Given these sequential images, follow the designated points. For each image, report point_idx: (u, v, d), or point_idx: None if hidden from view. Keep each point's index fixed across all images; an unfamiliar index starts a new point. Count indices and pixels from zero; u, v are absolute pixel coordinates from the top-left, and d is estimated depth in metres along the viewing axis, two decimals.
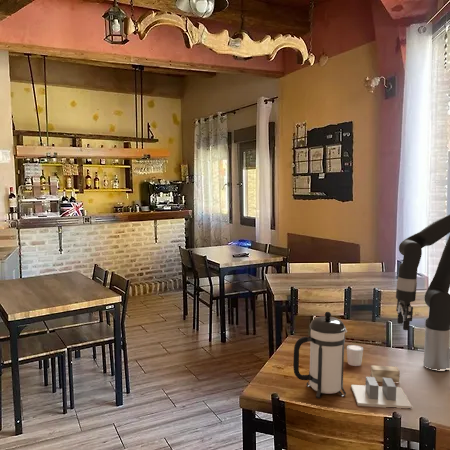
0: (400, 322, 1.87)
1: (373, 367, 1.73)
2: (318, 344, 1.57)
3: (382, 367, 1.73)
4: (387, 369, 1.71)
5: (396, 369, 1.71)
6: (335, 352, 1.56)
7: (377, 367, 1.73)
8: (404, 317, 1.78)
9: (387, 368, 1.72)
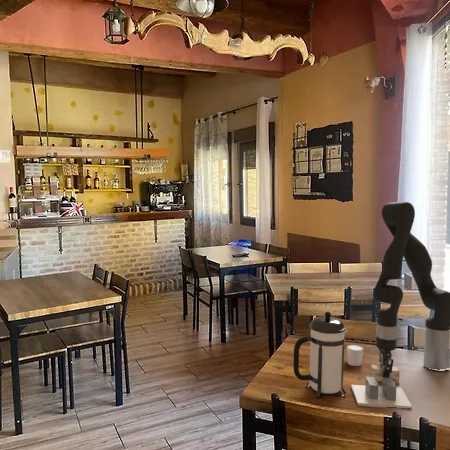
0: None
1: (373, 366, 1.73)
2: (318, 344, 1.57)
3: (382, 367, 1.73)
4: None
5: (396, 369, 1.70)
6: (335, 352, 1.56)
7: (377, 366, 1.73)
8: (384, 368, 1.69)
9: (387, 368, 1.72)
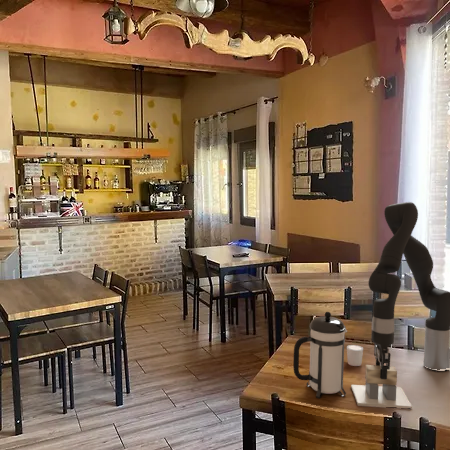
0: None
1: (368, 367, 1.58)
2: (318, 344, 1.57)
3: (378, 367, 1.58)
4: None
5: (393, 369, 1.56)
6: (335, 352, 1.56)
7: (372, 367, 1.58)
8: (381, 364, 1.53)
9: None
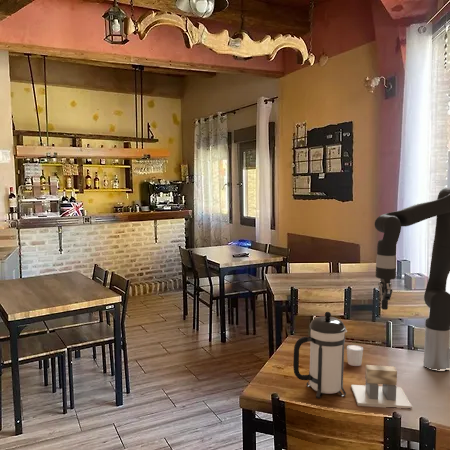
0: None
1: (368, 367, 1.58)
2: (318, 344, 1.57)
3: (378, 367, 1.58)
4: (383, 369, 1.56)
5: (393, 369, 1.56)
6: (335, 352, 1.56)
7: (372, 367, 1.58)
8: (382, 297, 1.73)
9: (383, 368, 1.57)
